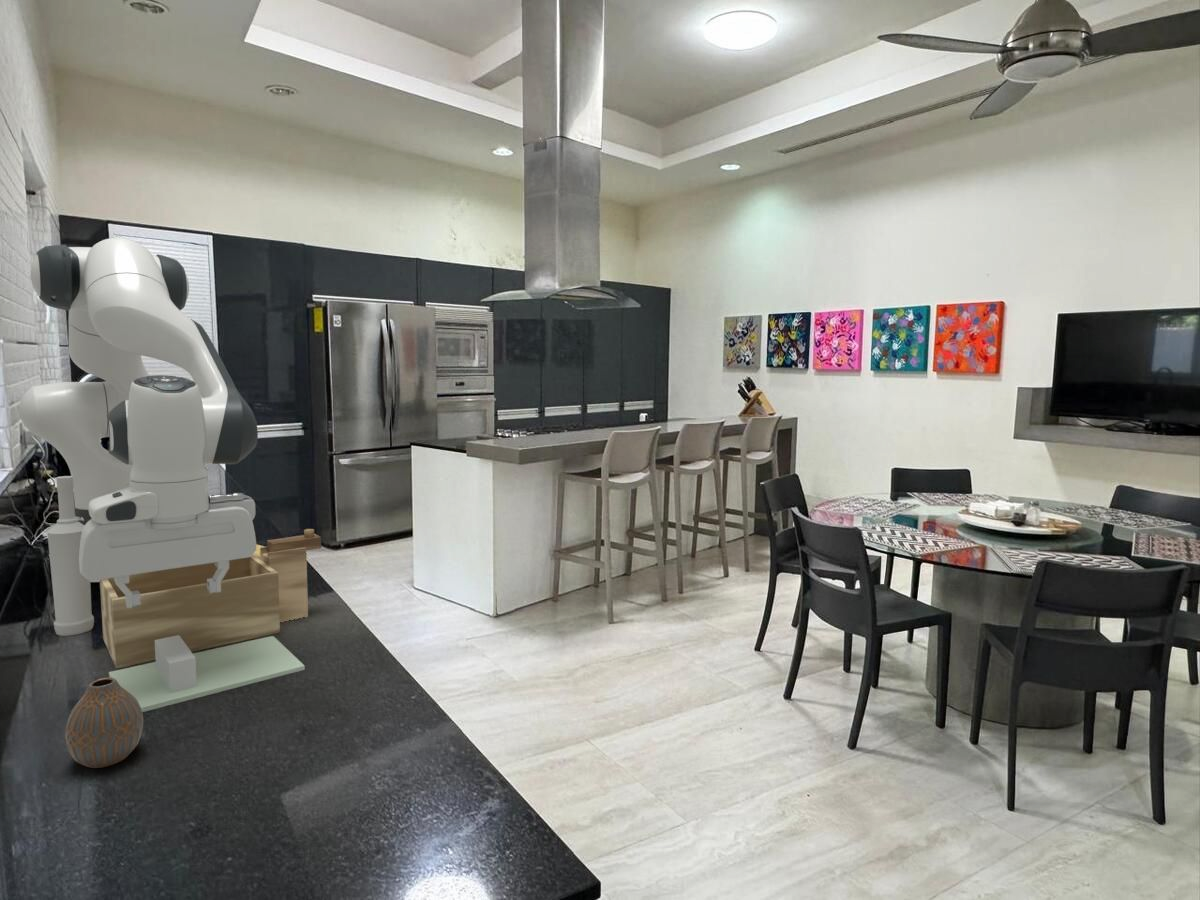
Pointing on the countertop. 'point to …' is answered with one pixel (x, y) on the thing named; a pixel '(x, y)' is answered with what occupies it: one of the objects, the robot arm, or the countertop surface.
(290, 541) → the wooden knobbed block
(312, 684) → the countertop surface
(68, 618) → the bottle
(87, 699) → the vase
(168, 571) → the toolbox
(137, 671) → the lid
